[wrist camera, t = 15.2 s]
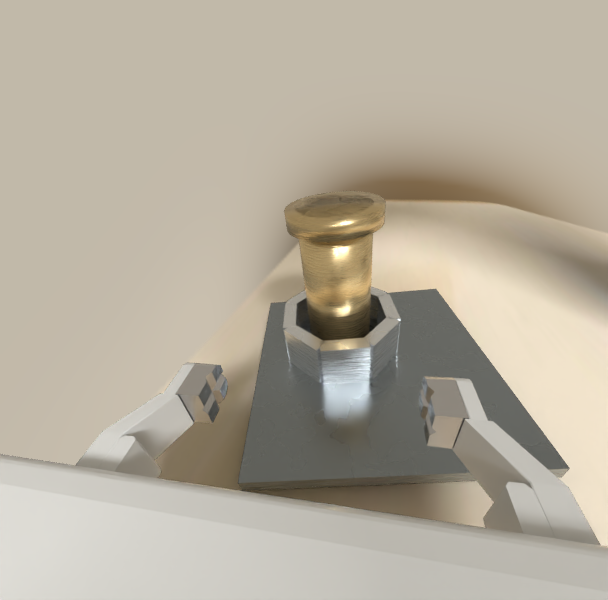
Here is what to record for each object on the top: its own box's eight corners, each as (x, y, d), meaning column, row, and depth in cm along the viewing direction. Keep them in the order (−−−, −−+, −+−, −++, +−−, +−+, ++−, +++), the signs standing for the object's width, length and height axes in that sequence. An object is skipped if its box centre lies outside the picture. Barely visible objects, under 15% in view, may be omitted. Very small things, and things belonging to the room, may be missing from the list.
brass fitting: (388, 331, 25) (400, 193, 18) (357, 381, 21) (357, 226, 14) (327, 312, 28) (317, 189, 21) (290, 352, 24) (263, 216, 17)
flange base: (434, 296, 30) (441, 259, 27) (561, 477, 15) (602, 432, 13) (272, 310, 31) (265, 276, 29) (242, 490, 16) (220, 451, 14)
